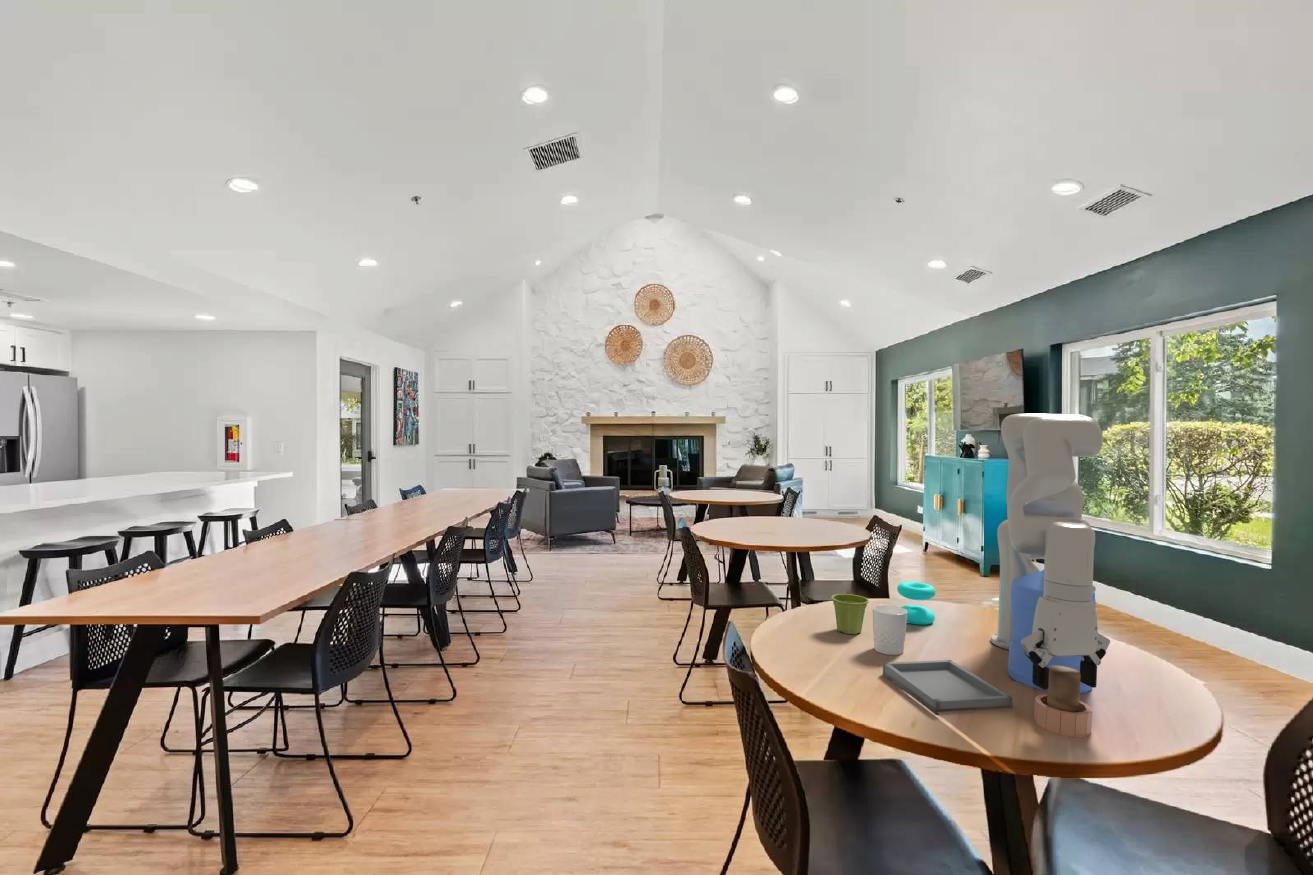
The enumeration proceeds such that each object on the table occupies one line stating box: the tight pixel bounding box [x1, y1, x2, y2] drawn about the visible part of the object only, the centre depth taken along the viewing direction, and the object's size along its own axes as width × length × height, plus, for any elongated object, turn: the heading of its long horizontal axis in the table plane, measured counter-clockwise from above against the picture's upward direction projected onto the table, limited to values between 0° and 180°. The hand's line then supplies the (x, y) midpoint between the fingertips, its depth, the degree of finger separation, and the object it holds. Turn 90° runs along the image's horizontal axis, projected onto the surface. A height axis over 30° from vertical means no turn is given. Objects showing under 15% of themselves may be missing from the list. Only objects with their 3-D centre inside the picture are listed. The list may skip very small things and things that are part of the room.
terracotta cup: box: [1033, 693, 1093, 738], centre depth 121 cm, size 9×9×4 cm
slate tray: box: [882, 659, 1013, 715], centre depth 137 cm, size 16×20×2 cm
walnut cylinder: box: [1046, 666, 1081, 713], centre depth 121 cm, size 5×5×10 cm
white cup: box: [872, 604, 908, 656], centre depth 161 cm, size 8×8×10 cm
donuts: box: [896, 581, 937, 626], centre depth 186 cm, size 10×10×10 cm
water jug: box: [1007, 569, 1097, 694], centre depth 143 cm, size 16×16×28 cm
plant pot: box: [830, 593, 870, 635], centre depth 175 cm, size 9×9×9 cm
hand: (1064, 685), depth 121 cm, fingers open, 9 cm apart
